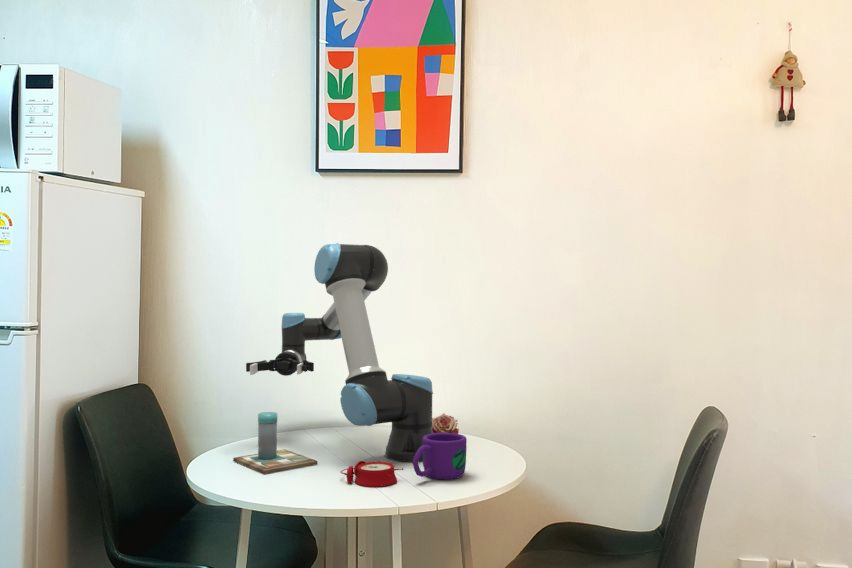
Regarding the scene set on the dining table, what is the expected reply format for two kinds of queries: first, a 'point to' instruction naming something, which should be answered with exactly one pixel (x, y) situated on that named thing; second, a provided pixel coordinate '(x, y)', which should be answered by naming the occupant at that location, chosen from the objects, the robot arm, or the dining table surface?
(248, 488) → the dining table surface
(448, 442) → the mug
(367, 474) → the alarm clock
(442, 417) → the flower
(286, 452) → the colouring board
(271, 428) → the grey teal canister
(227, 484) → the dining table surface
